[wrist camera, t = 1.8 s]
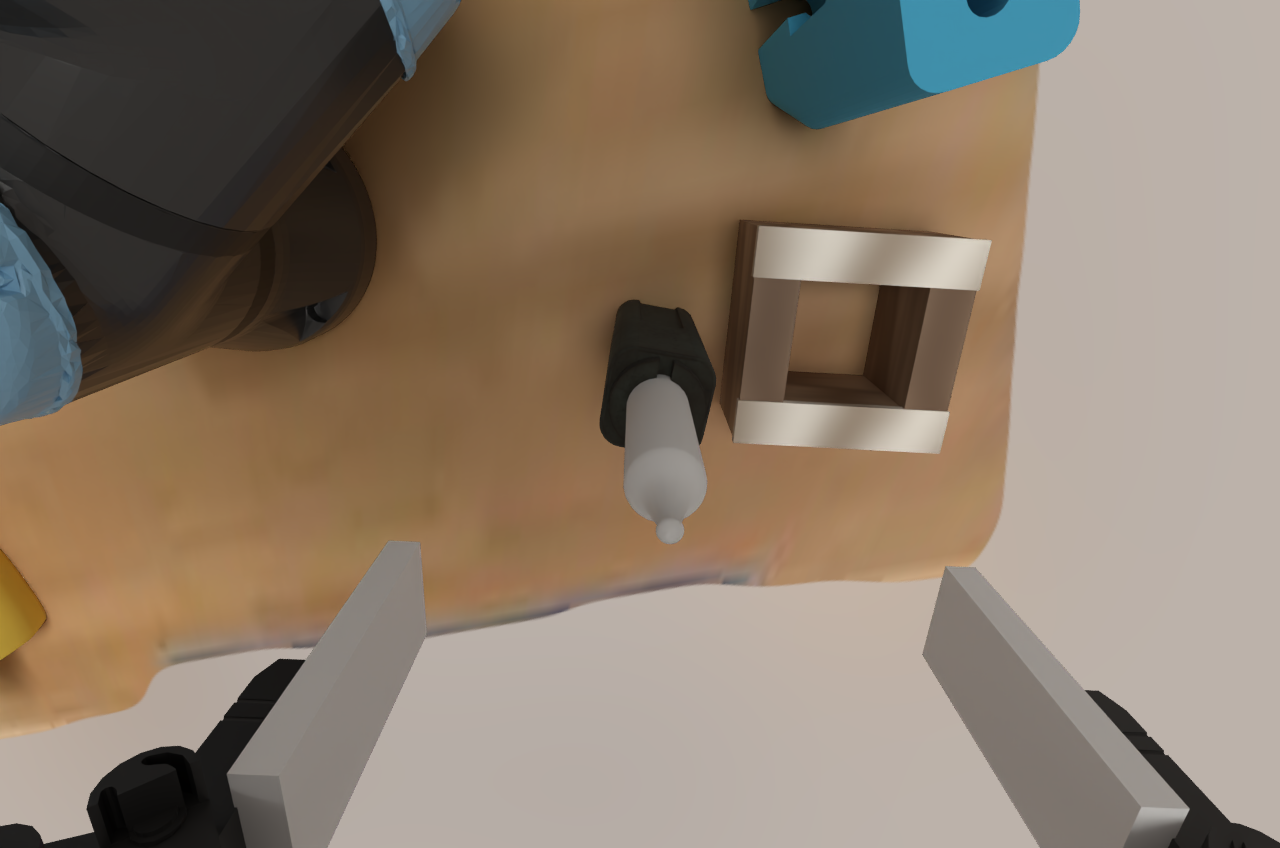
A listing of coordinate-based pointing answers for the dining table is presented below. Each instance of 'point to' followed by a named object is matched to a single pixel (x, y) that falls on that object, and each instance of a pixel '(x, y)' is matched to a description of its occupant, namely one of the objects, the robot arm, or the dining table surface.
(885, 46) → the block
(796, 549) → the dining table surface
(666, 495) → the grey and black rod
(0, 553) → the teapot
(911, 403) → the holder
